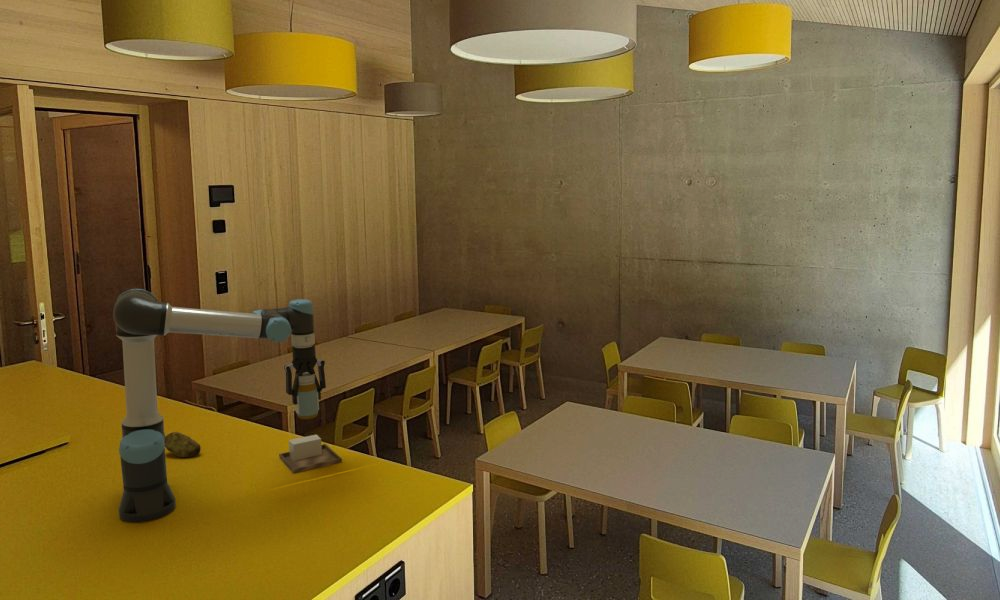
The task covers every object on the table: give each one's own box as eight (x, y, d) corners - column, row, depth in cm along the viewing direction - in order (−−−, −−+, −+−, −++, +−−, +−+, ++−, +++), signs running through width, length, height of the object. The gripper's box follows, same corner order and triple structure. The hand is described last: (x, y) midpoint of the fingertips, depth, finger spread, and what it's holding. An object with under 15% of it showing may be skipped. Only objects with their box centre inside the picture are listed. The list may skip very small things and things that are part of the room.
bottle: (292, 417, 236) (290, 374, 233) (309, 411, 242) (306, 370, 239) (306, 421, 232) (303, 378, 229) (322, 415, 238) (320, 373, 235)
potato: (183, 462, 241) (181, 441, 239) (160, 455, 247) (158, 434, 246) (204, 454, 248) (202, 433, 247) (181, 447, 254) (179, 427, 253)
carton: (294, 460, 241) (293, 444, 240) (289, 456, 245) (288, 440, 244) (321, 454, 247) (321, 438, 246) (317, 450, 251) (316, 434, 250)
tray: (293, 475, 231) (293, 469, 231) (279, 459, 244) (279, 453, 244) (341, 463, 240) (341, 458, 240) (325, 449, 253) (325, 443, 253)
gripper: (279, 351, 224) (284, 419, 228) (334, 343, 235) (337, 408, 239) (272, 347, 230) (276, 413, 234) (325, 339, 241) (329, 402, 245)
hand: (307, 410), depth 236 cm, fingers closed on bottle, 6 cm apart
